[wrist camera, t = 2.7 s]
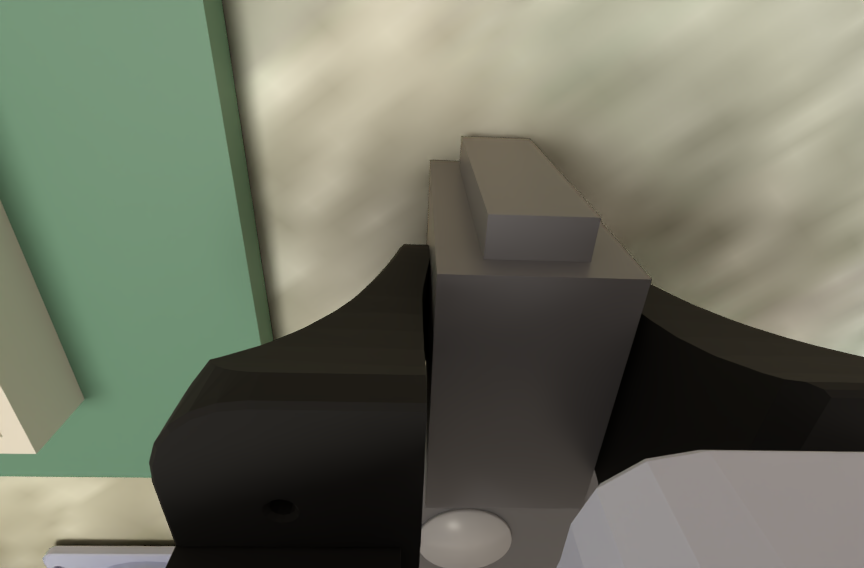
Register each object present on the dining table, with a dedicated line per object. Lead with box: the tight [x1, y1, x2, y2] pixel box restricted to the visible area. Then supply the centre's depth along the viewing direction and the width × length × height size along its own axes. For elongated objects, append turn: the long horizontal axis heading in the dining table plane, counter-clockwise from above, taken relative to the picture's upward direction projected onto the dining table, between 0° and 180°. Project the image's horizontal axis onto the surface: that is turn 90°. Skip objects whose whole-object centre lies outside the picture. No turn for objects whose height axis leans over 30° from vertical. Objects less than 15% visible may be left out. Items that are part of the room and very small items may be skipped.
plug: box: [425, 136, 652, 509], centre depth 10 cm, size 6×3×6 cm, turn 178°
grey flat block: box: [419, 464, 599, 568], centre depth 16 cm, size 10×8×3 cm
